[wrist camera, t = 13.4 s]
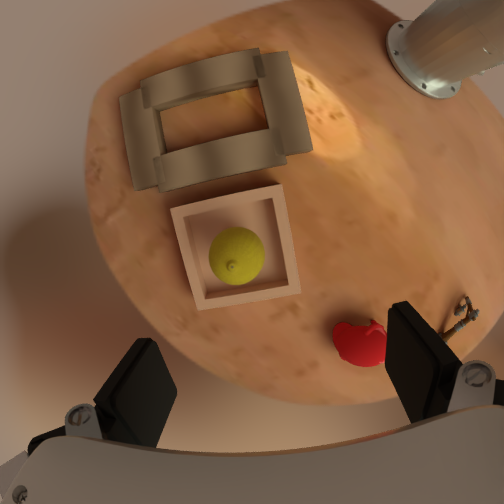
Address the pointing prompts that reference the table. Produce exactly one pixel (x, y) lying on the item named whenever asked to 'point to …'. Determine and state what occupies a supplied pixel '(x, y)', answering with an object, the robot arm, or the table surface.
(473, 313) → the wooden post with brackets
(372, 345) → the cap
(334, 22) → the table surface
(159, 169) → the rectangular open frame
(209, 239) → the tray
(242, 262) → the lemon
